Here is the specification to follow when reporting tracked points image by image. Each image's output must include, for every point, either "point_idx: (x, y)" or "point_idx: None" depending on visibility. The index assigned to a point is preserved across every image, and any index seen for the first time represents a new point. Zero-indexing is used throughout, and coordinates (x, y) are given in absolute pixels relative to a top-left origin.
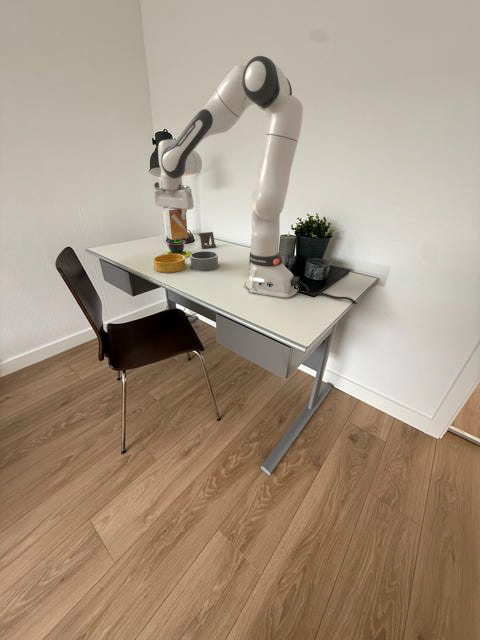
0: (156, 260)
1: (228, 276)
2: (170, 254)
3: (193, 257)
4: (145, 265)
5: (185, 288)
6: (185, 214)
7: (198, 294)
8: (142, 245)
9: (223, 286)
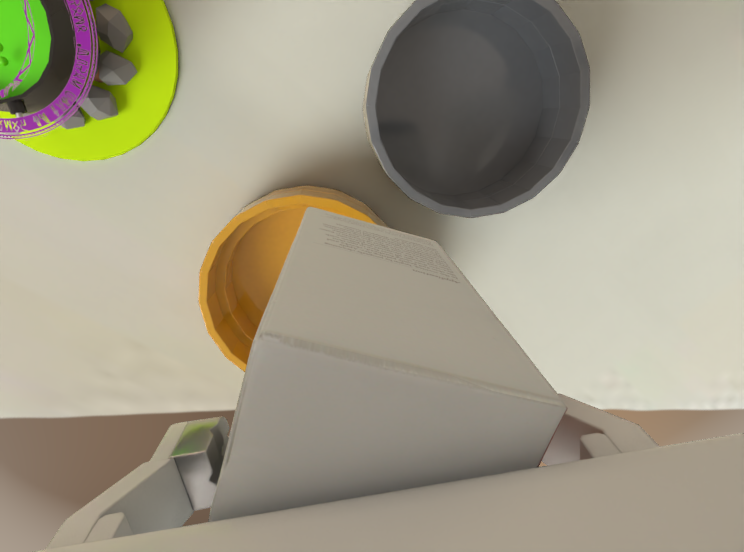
0: (233, 338)
1: (689, 138)
2: (226, 238)
3: (460, 209)
4: (163, 347)
5: (590, 388)
6: (571, 402)
7: (678, 389)
8: None
9: (733, 262)
